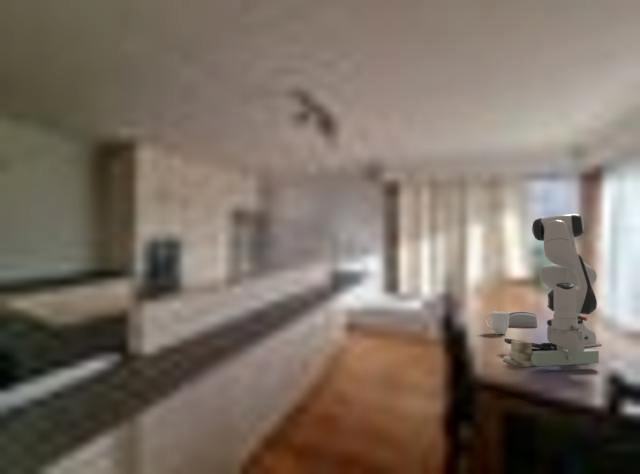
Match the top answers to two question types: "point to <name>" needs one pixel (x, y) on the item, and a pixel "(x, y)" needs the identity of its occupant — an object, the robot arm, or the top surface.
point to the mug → (499, 321)
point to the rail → (564, 357)
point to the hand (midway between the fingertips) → (565, 358)
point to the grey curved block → (522, 319)
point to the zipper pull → (538, 346)
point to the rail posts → (521, 353)
